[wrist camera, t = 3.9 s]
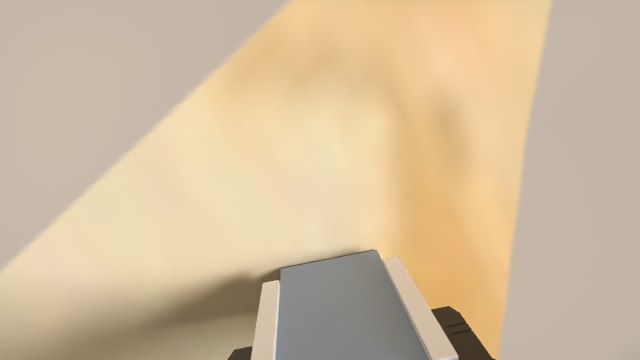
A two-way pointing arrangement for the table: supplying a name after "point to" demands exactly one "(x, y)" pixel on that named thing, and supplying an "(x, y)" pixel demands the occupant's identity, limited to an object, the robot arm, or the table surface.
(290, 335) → the domino
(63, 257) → the table surface
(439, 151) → the table surface
